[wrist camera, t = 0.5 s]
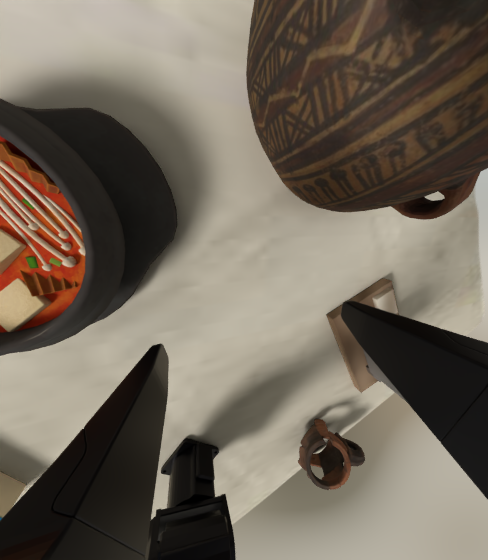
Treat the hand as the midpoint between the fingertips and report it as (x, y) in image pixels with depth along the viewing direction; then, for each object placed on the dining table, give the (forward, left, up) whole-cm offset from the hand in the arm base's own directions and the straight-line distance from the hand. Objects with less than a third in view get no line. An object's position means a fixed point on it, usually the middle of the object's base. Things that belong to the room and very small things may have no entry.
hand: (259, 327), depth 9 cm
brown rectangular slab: (+5, -28, -15) cm, 32 cm away
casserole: (-7, +15, -15) cm, 23 cm away
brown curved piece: (-15, -36, -15) cm, 42 cm away
